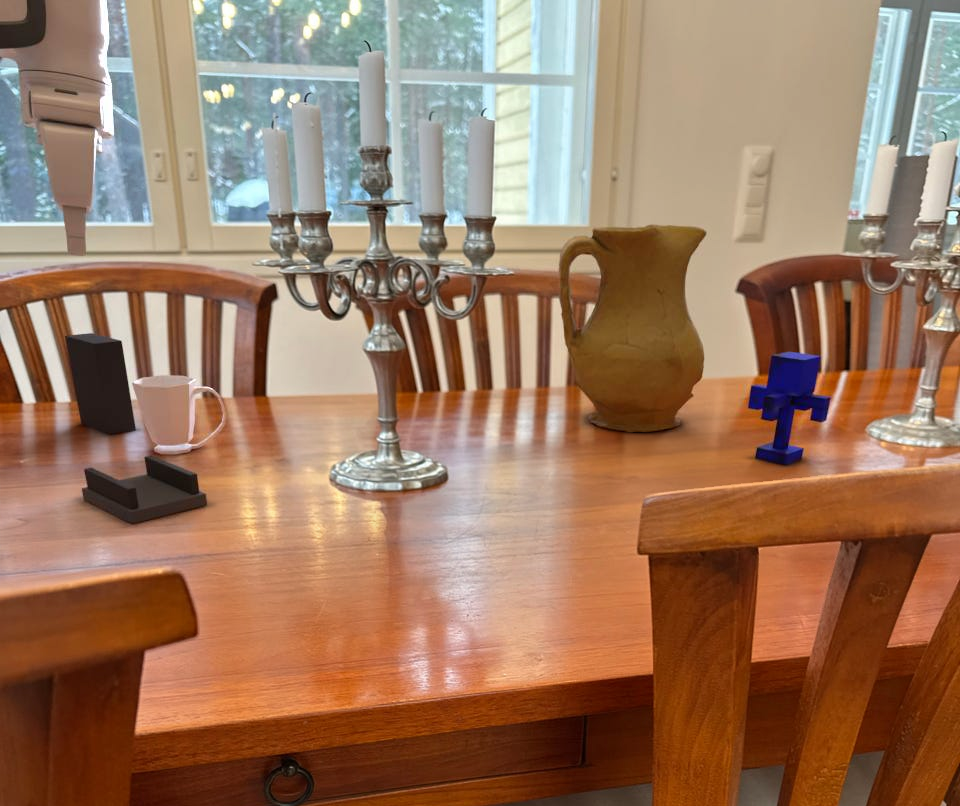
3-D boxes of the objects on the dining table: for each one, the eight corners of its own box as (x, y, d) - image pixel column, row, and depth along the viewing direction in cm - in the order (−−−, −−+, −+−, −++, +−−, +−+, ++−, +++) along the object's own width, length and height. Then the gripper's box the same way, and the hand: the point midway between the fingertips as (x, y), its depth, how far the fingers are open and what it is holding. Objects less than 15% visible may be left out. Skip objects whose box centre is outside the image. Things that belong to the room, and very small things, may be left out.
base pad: (132, 524, 84) (126, 491, 82) (83, 499, 90) (77, 468, 88) (207, 505, 89) (203, 473, 87) (156, 483, 95) (152, 453, 93)
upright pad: (109, 434, 112) (94, 343, 107) (81, 423, 117) (64, 335, 112) (136, 430, 114) (121, 340, 109) (106, 419, 119) (91, 333, 114)
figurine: (799, 451, 111) (818, 350, 106) (819, 468, 104) (841, 362, 99) (738, 449, 111) (754, 349, 106) (755, 467, 104) (773, 360, 99)
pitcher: (672, 441, 112) (688, 221, 102) (541, 427, 121) (544, 225, 111) (716, 418, 126) (734, 222, 115) (595, 408, 135) (602, 225, 124)
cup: (140, 444, 108) (129, 376, 105) (225, 438, 112) (217, 371, 108) (145, 460, 102) (133, 388, 99) (233, 452, 106) (226, 383, 102)
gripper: (39, 120, 102) (49, 252, 107) (29, 93, 84) (42, 252, 89) (99, 129, 104) (106, 257, 109) (102, 104, 87) (110, 258, 92)
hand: (77, 255), depth 99 cm, fingers open, 8 cm apart
